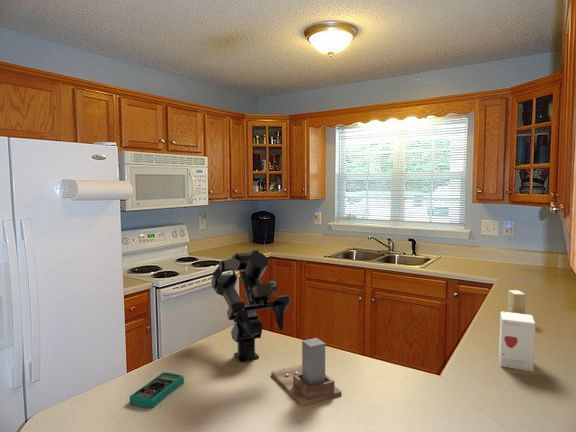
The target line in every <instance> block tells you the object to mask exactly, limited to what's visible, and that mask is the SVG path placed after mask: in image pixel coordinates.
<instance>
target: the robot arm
mask: <svg viewBox="0 0 576 432" xmlns="http://www.w3.org/2000/svg"><path fill="white" fill-rule="evenodd" d="M268 265H269V258H268V257H267V255H265V254H263V253H261V252H259V249H257V250H252V251H248V252H247V251H246V252H235V253H234V254H233V255H232V256H231V258H227V259H223V260H220V261H219V263H218V266H217V268H216V269H215V270H214V271H213V273H212V277H211V287H212V289H213V290H214V291H215V294H217V295H220V296H221V297H223V298H224V301H225V303H226V304H227V306H228V310H227V313H226V314H227V318H228V321H233V322H234V324H233V327H232V329H231V331H230V334H231V339H232V340H233V341H234V342H235V343H237V352H234V353H233V355H234V356H235V358H236V359H238V361H239V362H246V361H247V362H248V361H252V360H257V359H259V358H260V356H259V354H258V353H256V339H261V337H262V332H263V323H262V320H261V319H260V317H259V314H258V313H257V312H256V311H262V310H269V309H272V310H273V312H274V313H273V316H274V318H275V321H276V324H277V327H278V328H279V331H280V332H283V331H284V313H285V311H287V309H288V308H289V306H290V305H291V303H292V301H291V298H290V296H289V295H286V294H283V295H278V296H275V299H274V300H272V301H268V300H270V298H271V296H272V295H274V293H276V292H277V291H278V289H279V288H278V284H277V282H276V280H270V281H268V282H267V283H262V281H261V277H263V275H264V273H265V271H266V269H267V266H268ZM228 271H229V272H230V271H232V273H230V274H223V272H228ZM236 272H241V273H240V276H239V278H240V279H239V282H240V283H241V284H242V287H243V291H244V299H246V300H247V304H245V302H244V301H243V300H242V299H241V296H240V295H239V293H238V292H237V289H236V284H237V280H238V276H237V274H236Z"/></svg>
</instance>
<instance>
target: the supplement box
mask: <svg viewBox="0 0 576 432" xmlns="http://www.w3.org/2000/svg"><path fill="white" fill-rule="evenodd" d="M499 318H500V323H499V339H498V340H499V342H498V359H499V366H500V367H504V368H510V369H516V370H522V371H527V372H531V373H532V372H534V363H535V361H534V359H535V357H534V356H535V343H536V341H535V340H536V338H535V337H536V322H535V320H534V316H533V314H527V313H525V314H519V313H510V312H508V311H500V317H499Z"/></svg>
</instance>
